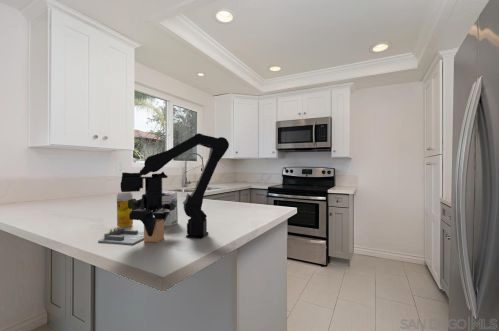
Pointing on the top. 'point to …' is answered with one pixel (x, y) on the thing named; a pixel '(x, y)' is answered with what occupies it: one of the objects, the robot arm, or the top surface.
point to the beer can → (123, 209)
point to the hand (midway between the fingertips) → (154, 234)
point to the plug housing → (155, 232)
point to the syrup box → (173, 215)
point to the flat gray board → (123, 236)
